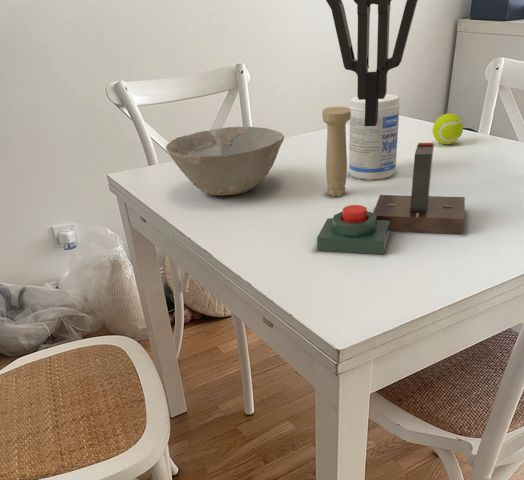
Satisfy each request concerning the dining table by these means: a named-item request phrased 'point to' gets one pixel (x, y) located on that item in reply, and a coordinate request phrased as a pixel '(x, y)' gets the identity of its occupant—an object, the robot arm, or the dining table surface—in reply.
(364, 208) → the button
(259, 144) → the ceramic bowl
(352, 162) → the supplement tub
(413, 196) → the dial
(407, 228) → the panel
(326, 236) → the button box
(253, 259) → the dining table surface
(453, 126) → the tennis ball
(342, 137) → the handle
